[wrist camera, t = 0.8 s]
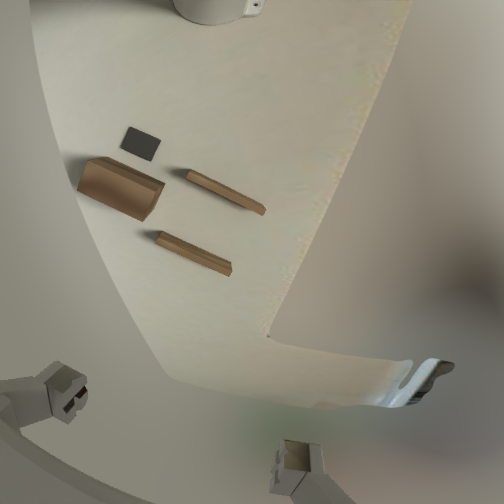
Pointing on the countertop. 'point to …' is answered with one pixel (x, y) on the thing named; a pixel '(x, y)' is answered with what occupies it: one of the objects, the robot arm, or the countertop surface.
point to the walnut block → (120, 187)
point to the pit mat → (141, 144)
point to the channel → (195, 252)
